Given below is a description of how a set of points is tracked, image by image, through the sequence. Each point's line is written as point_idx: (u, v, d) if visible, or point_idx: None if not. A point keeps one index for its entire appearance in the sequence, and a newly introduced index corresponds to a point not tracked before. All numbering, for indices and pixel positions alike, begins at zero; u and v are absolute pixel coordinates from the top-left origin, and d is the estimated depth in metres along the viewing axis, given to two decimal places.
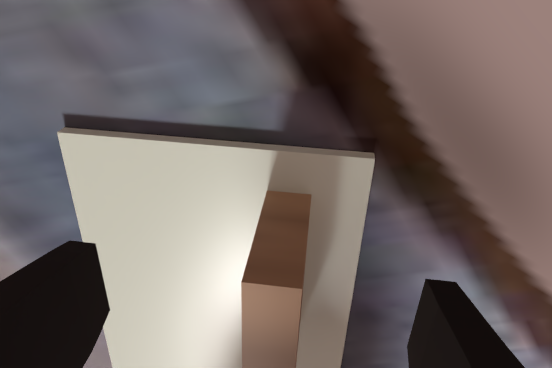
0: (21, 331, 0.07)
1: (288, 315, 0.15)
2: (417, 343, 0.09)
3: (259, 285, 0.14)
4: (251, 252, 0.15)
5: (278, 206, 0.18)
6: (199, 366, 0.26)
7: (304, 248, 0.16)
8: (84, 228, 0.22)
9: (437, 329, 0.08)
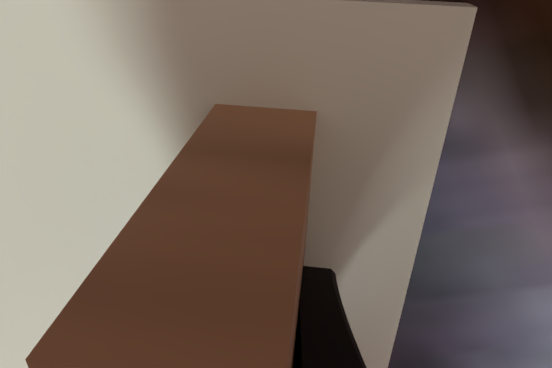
0: None
1: None
2: None
3: None
4: (122, 238, 0.05)
5: (236, 130, 0.07)
6: None
7: (298, 226, 0.05)
8: None
9: (298, 313, 0.08)
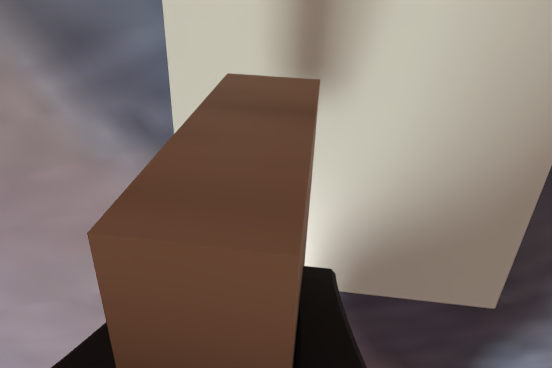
0: None
1: (255, 347, 0.04)
2: None
3: (148, 244, 0.04)
4: (155, 162, 0.05)
5: (247, 91, 0.08)
6: None
7: (306, 156, 0.06)
8: (172, 37, 0.15)
9: None
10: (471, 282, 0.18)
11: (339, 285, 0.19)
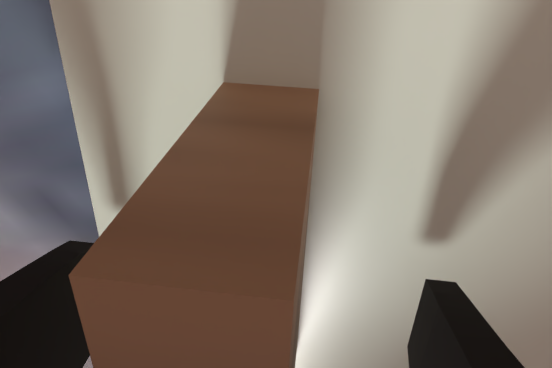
0: (21, 331, 0.07)
1: None
2: (417, 343, 0.09)
3: (133, 287, 0.04)
4: (144, 187, 0.05)
5: (243, 103, 0.08)
6: None
7: (303, 180, 0.05)
8: (79, 92, 0.10)
9: (437, 329, 0.08)
10: None
11: None
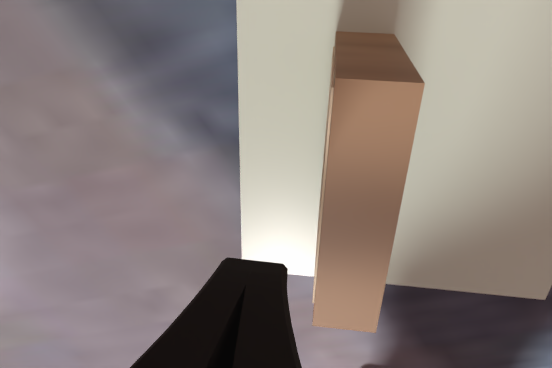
0: (223, 357, 0.07)
1: (398, 134, 0.10)
2: None
3: (361, 82, 0.10)
4: (338, 61, 0.11)
5: (356, 39, 0.14)
6: None
7: (408, 60, 0.11)
8: (244, 40, 0.16)
9: None
10: (523, 274, 0.19)
11: (392, 278, 0.20)
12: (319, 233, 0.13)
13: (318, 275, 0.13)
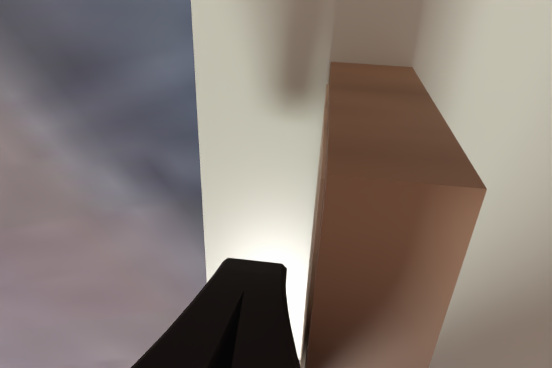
0: (224, 357, 0.07)
1: (433, 263, 0.06)
2: None
3: (373, 182, 0.06)
4: (332, 129, 0.07)
5: (360, 77, 0.10)
6: None
7: (445, 125, 0.07)
8: (204, 70, 0.11)
9: None
10: None
11: None
12: None
13: None
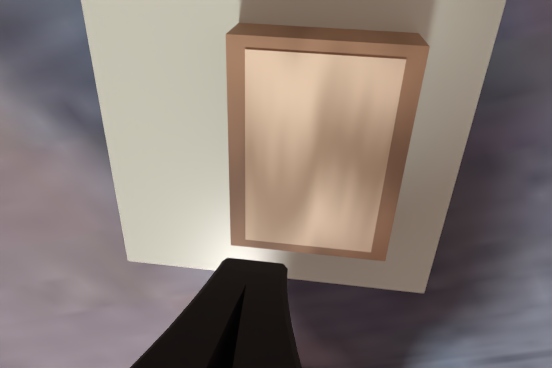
0: (223, 357, 0.07)
1: None
2: None
3: (425, 44, 0.13)
4: (374, 42, 0.13)
5: (269, 32, 0.13)
6: (243, 253, 0.20)
7: (353, 29, 0.14)
8: (92, 27, 0.15)
9: None
10: (399, 267, 0.19)
11: None
12: (382, 188, 0.15)
13: (394, 214, 0.15)
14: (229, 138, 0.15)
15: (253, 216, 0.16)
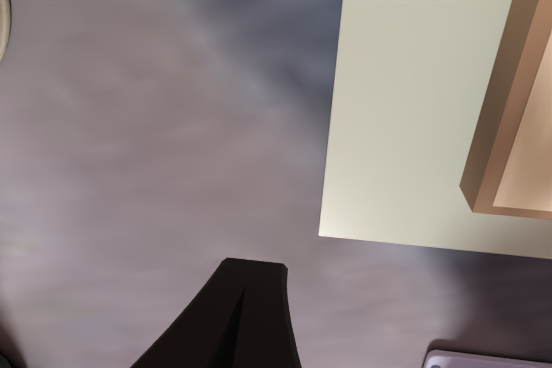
0: (223, 357, 0.07)
1: None
2: None
3: None
4: None
5: None
6: (450, 226, 0.19)
7: None
8: None
9: None
10: None
11: (479, 245, 0.19)
12: None
13: None
14: (511, 93, 0.14)
15: (510, 180, 0.15)
